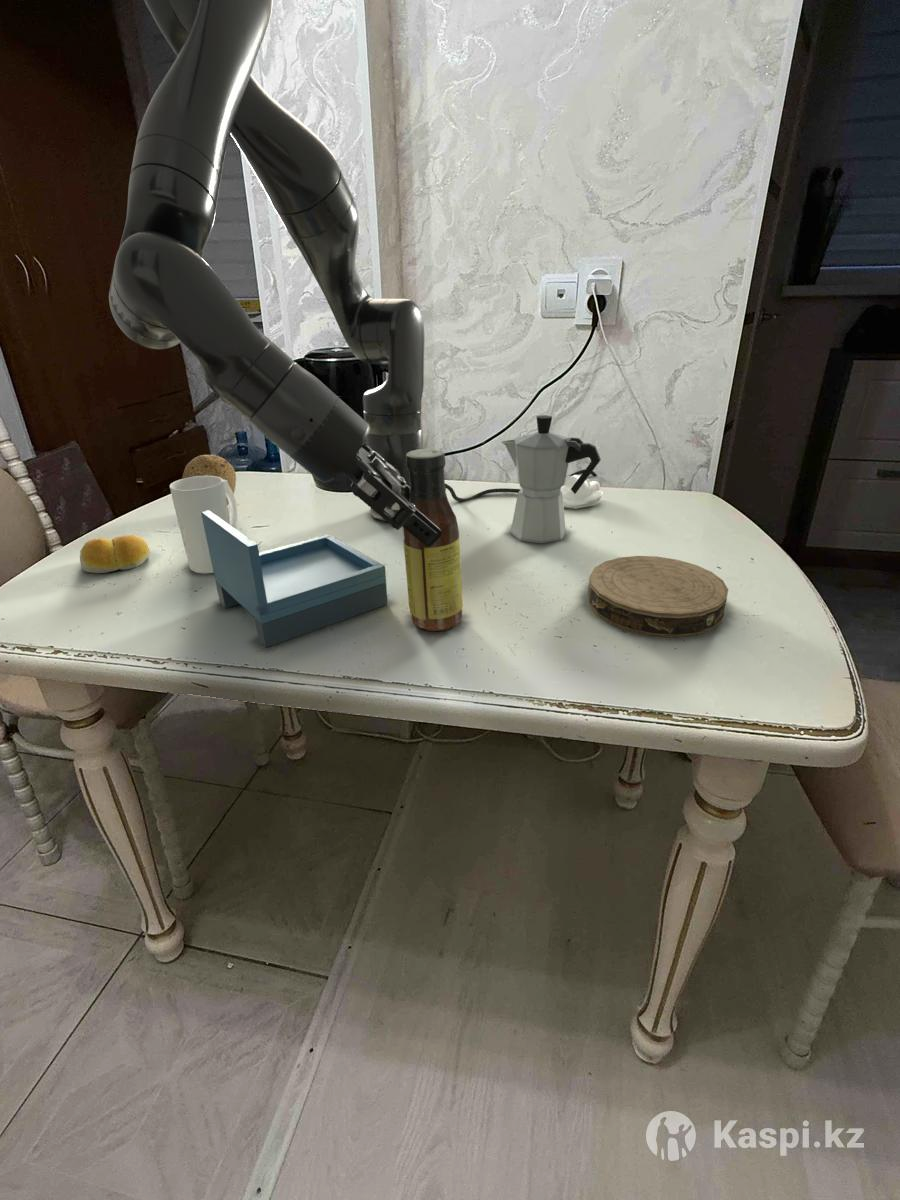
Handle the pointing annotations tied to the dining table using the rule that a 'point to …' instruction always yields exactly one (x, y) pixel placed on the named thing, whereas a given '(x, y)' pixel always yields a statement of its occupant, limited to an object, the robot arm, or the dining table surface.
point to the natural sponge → (211, 469)
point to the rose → (580, 493)
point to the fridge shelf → (292, 581)
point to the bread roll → (113, 554)
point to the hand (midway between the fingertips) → (429, 525)
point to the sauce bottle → (433, 547)
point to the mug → (190, 503)
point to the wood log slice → (657, 596)
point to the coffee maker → (545, 480)
